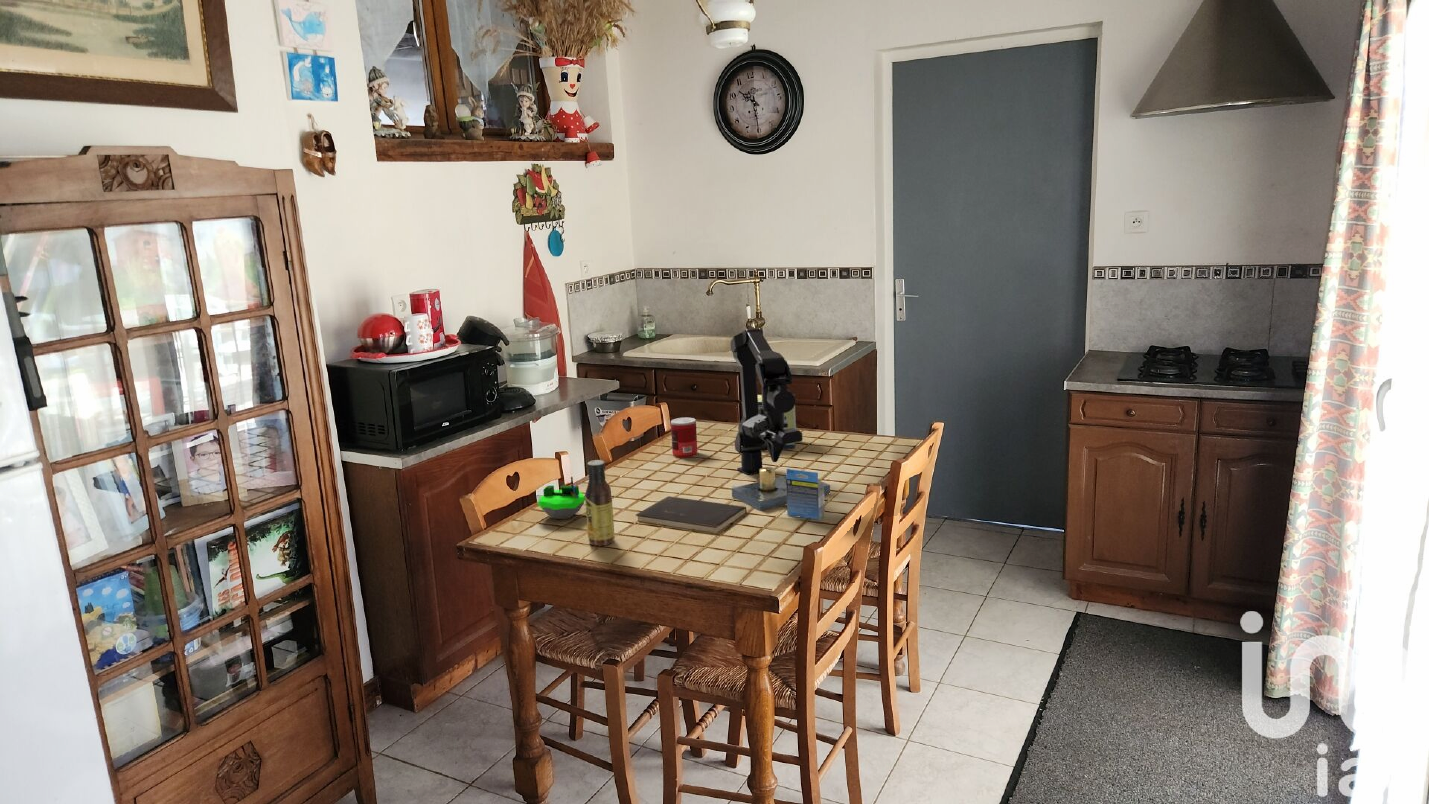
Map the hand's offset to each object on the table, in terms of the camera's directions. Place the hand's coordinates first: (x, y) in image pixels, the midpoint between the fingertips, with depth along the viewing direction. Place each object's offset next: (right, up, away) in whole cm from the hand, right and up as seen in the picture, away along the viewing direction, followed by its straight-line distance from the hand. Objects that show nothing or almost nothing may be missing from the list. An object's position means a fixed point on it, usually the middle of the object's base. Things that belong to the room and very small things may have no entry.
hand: (774, 461), depth 250 cm
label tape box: (+7, -13, -15) cm, 21 cm away
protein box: (+2, +2, +51) cm, 51 cm away
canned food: (-25, -1, +45) cm, 52 cm away
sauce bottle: (-43, -18, -27) cm, 53 cm away
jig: (+2, -9, +1) cm, 9 cm away
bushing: (-2, -10, 0) cm, 10 cm away
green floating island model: (-55, -14, -7) cm, 57 cm away
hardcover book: (-22, -14, -12) cm, 28 cm away
